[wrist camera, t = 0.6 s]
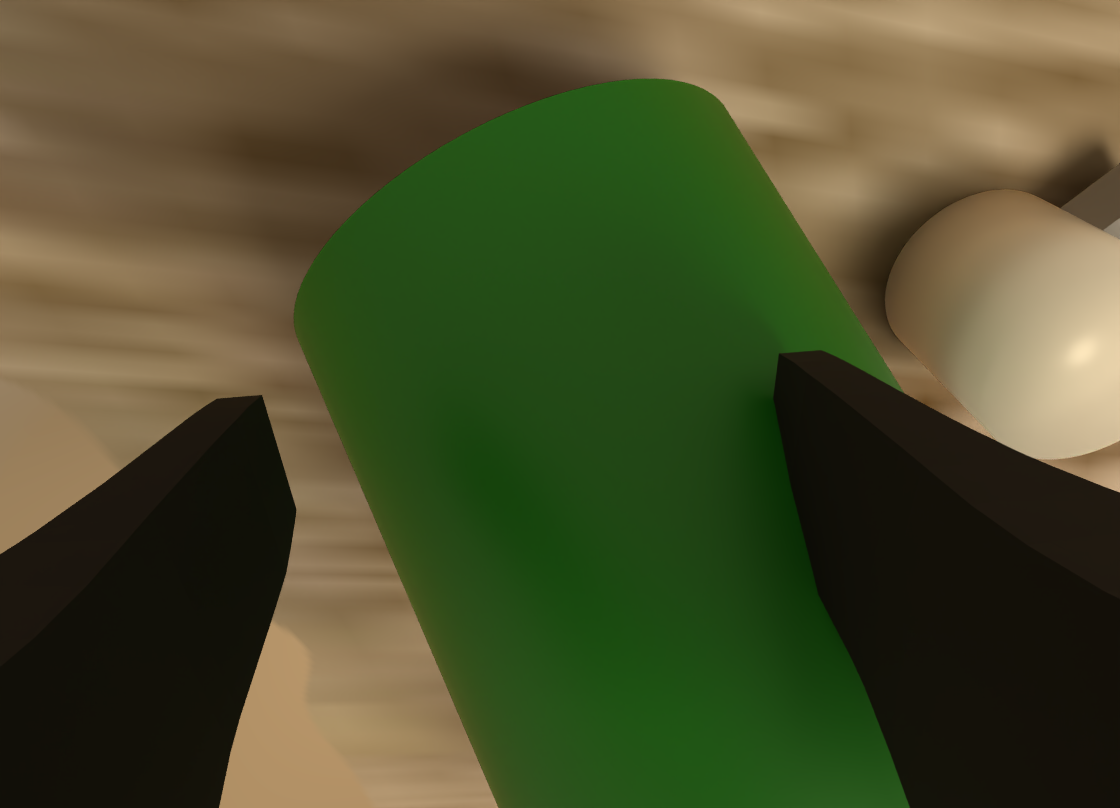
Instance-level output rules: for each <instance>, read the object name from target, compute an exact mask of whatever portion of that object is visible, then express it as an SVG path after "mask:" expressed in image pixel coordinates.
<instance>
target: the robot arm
mask: <svg viewBox="0 0 1120 808" xmlns="http://www.w3.org/2000/svg"><path fill="white" fill-rule="evenodd" d="M773 400H774V404H775V409H776V414H777V419H778V424H779V429H780V434H781V439H782V444H783V449H784V454H785V459H786V464H787V470H788V475H789V480H790V485H791V489H792V493H793V497H794V500H795V504H796V508H797V512H798V516H799V520H800V524H801V528H802V532H803V536H804V540H805V543H806V547H807V551H808V555H809V559H810V563H811V567H812V571H813V575H814V579H815V583H816V587H817V591H818V595H819V597H820V599H821V601H822V603H823V605H824V607H825V609H826V610H827V612H828V614H829V616H830V618H831V620H832V622H833V624H834V626H835V628H836V630H837V632H838V634H839V636H840V637H841V639H842V641H843V643H844V645H845V647H846V649H847V651H848V653H849V655H850V657H851V659H852V661H853V663H854V666H855V668H856V670H857V672H858V674H859V676H860V679H861V681H862V683H863V685H864V687H865V690H866V692H867V695H868V698H869V700H870V703H871V705H872V708H873V710H874V713H875V716H876V718H877V721H878V723H879V726H880V728H881V731H882V734H883V736H884V739H885V741H886V744H887V746H888V749H889V752H890V754H891V757H892V760H893V763H894V765H895V768H896V771H897V774H898V776H899V779H900V782H901V785H902V787H903V790H904V793H905V796H906V799H907V801H908V804H909V807H910V808H1120V493H1119V492H1117V491H1114V490H1111V489H1108V488H1106V487H1103V486H1101V485H1098V484H1096V483H1093V482H1091V481H1088V480H1086V479H1083V478H1081V477H1078V476H1076V475H1073V474H1070V473H1068V472H1065V471H1063V470H1060V469H1058V468H1055V467H1053V466H1050V465H1048V464H1046V463H1043V462H1041V461H1039V460H1036V459H1034V458H1032V457H1030V456H1027V455H1025V454H1023V453H1021V452H1018V451H1016V450H1014V449H1012V448H1010V447H1008V446H1006V445H1004V444H1002V443H1000V442H997V441H995V440H993V439H991V438H989V437H987V436H985V435H983V434H981V433H979V432H977V431H974V430H972V429H970V428H969V427H967V426H965V425H963V424H961V423H959V422H957V421H955V420H953V419H951V418H949V417H947V416H945V415H943V414H941V413H940V412H938V411H936V410H934V409H932V408H930V407H928V406H926V405H925V404H923V403H921V402H919V401H917V400H915V399H914V398H912V397H910V396H908V395H906V394H904V393H903V392H901V391H899V390H897V389H895V388H894V387H892V386H890V385H888V384H886V383H885V382H883V381H881V380H879V379H877V378H876V377H874V376H872V375H870V374H868V373H867V372H865V371H863V370H861V369H859V368H857V367H856V366H854V365H852V364H850V363H848V362H846V361H844V360H842V359H840V358H838V357H836V356H834V355H832V354H830V353H827V352H825V351H822V350H815V351H803V352H790V353H779V356H778V364H777V372H776V380H775V388H774V396H773ZM295 517H296V507H295V503H294V500H293V497H292V493H291V490H290V487H289V483H288V480H287V477H286V473H285V470H284V467H283V463H282V460H281V457H280V453H279V450H278V447H277V443H276V440H275V437H274V433H273V430H272V427H271V423H270V420H269V417H268V413H267V410H266V407H265V403H264V400H263V397H262V395H257V396H245V397H233V398H220V399H216V400H214V401H213V402H211V403H209V404H208V405H206V406H205V407H203V408H202V409H200V410H199V411H198V412H196V413H195V414H193V415H192V416H191V417H189V418H188V419H187V420H185V421H184V422H183V423H181V424H180V425H179V426H177V427H176V428H175V429H174V430H172V431H171V432H170V433H168V434H167V435H166V436H164V437H163V438H162V439H161V440H159V441H158V442H157V443H155V444H154V445H153V446H152V447H150V448H149V449H148V450H146V451H145V452H144V453H142V454H141V455H140V456H139V457H137V458H136V459H135V460H133V461H132V462H131V463H129V464H128V465H127V466H126V467H124V468H123V469H122V470H120V471H119V472H118V473H116V474H115V475H114V476H112V477H111V478H110V479H109V480H107V481H106V482H105V483H103V484H102V485H101V486H99V487H98V488H96V489H95V490H93V491H92V492H91V493H89V494H88V495H86V496H85V497H84V498H82V499H81V500H79V501H78V502H76V503H75V504H74V505H72V506H71V507H70V508H68V509H67V510H65V511H64V512H62V513H61V514H60V515H58V516H57V517H55V518H54V519H53V520H51V521H50V522H48V523H47V524H45V525H44V526H43V527H41V528H40V529H38V530H37V531H36V532H34V533H33V534H31V535H29V536H28V537H27V538H25V539H23V540H22V541H20V542H19V543H17V544H16V545H14V546H13V547H11V548H9V549H8V550H6V551H5V552H3V553H2V554H0V808H219V805H220V800H221V795H222V790H223V785H224V781H225V776H226V771H227V766H228V762H229V756H230V752H231V748H232V745H233V741H234V737H235V734H236V730H237V726H238V723H239V719H240V716H241V713H242V710H243V706H244V703H245V700H246V697H247V694H248V691H249V688H250V685H251V682H252V679H253V676H254V673H255V670H256V667H257V663H258V660H259V657H260V654H261V651H262V648H263V645H264V642H265V639H266V636H267V632H268V630H269V627H270V623H271V620H272V617H273V614H274V611H275V608H276V604H277V601H278V598H279V595H280V592H281V588H282V585H283V582H284V578H285V575H286V571H287V566H288V560H289V555H290V549H291V544H292V537H293V530H294V524H295Z"/></svg>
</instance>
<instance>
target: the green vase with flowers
mask: <svg viewBox="0 0 1120 808" xmlns="http://www.w3.org/2000/svg"><path fill="white" fill-rule="evenodd" d="M294 327H295V332H296V335H297V338H298V341H299V343H300V345H301V348H302V350H303V352H304V355H305V357H306V359H307V362H308V364H309V366H310V369H311V371H312V373H313V376H314V378H315V380H316V383H317V385H318V387H319V390H320V392H321V394H322V397H323V399H324V401H325V404H326V406H327V408H328V411H329V413H330V415H331V418H332V420H333V422H334V425H335V427H336V429H337V432H338V434H339V436H340V439H341V441H342V443H343V446H344V448H345V450H346V453H347V455H348V457H349V460H350V462H351V464H352V467H353V469H354V471H355V474H356V476H357V478H358V481H359V483H360V485H361V488H362V490H363V492H364V495H365V497H366V499H367V502H368V504H369V506H370V509H371V511H372V513H373V516H374V518H375V520H376V523H377V525H378V527H379V530H380V532H381V534H382V537H383V539H384V541H385V544H386V546H387V548H388V551H389V553H390V555H391V558H392V560H393V562H394V565H395V567H396V569H397V572H398V574H399V576H400V579H401V581H402V583H403V586H404V588H405V590H406V593H407V595H408V597H409V600H410V602H411V604H412V607H413V609H414V611H415V614H416V616H417V618H418V621H419V623H420V625H421V628H422V630H423V632H424V635H425V637H426V639H427V642H428V644H429V646H430V649H431V651H432V653H433V656H434V658H435V660H436V663H437V665H438V667H439V670H440V672H441V674H442V677H443V679H444V681H445V684H446V686H447V688H448V691H449V693H450V695H451V698H452V700H453V702H454V705H455V707H456V709H457V712H458V714H459V716H460V719H461V721H462V723H463V726H464V728H465V731H466V733H467V735H468V738H469V740H470V742H471V745H472V747H473V749H474V752H475V754H476V756H477V759H478V761H479V763H480V766H481V768H482V770H483V773H484V775H485V777H486V780H487V782H488V784H489V787H490V789H491V791H492V794H493V796H494V798H495V801H496V803H497V805H498V808H910V807H909V804H908V801H907V799H906V796H905V793H904V790H903V787H902V785H901V782H900V779H899V776H898V774H897V771H896V768H895V765H894V763H893V760H892V757H891V754H890V752H889V749H888V746H887V744H886V741H885V739H884V736H883V734H882V731H881V728H880V726H879V723H878V721H877V718H876V716H875V713H874V710H873V708H872V705H871V703H870V700H869V698H868V695H867V692H866V690H865V687H864V685H863V683H862V681H861V679H860V676H859V674H858V672H857V670H856V668H855V666H854V663H853V661H852V659H851V657H850V655H849V653H848V651H847V649H846V647H845V645H844V643H843V641H842V639H841V637H840V636H839V634H838V632H837V630H836V628H835V626H834V624H833V622H832V620H831V618H830V616H829V614H828V612H827V610H826V609H825V607H824V605H823V603H822V601H821V599H820V597H819V595H818V591H817V587H816V583H815V579H814V575H813V571H812V567H811V563H810V559H809V555H808V551H807V547H806V543H805V540H804V536H803V532H802V528H801V524H800V520H799V516H798V512H797V508H796V504H795V500H794V497H793V493H792V489H791V485H790V480H789V475H788V470H787V464H786V459H785V454H784V449H783V444H782V439H781V434H780V429H779V424H778V419H777V414H776V409H775V404H774V400H773V396H774V388H775V380H776V372H777V364H778V356H779V353H790V352H803V351H815V350H822V351H825V352H827V353H830V354H832V355H834V356H836V357H838V358H840V359H842V360H844V361H846V362H848V363H850V364H852V365H854V366H856V367H857V368H859V369H861V370H863V371H865V372H867V373H868V374H870V375H872V376H874V377H876V378H877V379H879V380H881V381H883V382H885V383H886V384H888V385H890V386H892V387H894V388H895V389H897V390H899V391H901V392H903V391H902V389H901V387H900V386H899V384H898V383H897V381H896V379H895V378H894V376H893V375H892V373H891V371H890V370H889V368H888V367H887V365H886V364H885V362H884V360H883V359H882V357H881V356H880V354H879V352H878V351H877V349H876V348H875V346H874V344H873V343H872V341H871V340H870V338H869V336H868V335H867V333H866V332H865V330H864V328H863V327H862V325H861V324H860V322H859V320H858V319H857V317H856V316H855V314H854V312H853V311H852V309H851V308H850V306H849V304H848V303H847V301H846V300H845V298H844V296H843V295H842V293H841V292H840V290H839V288H838V287H837V285H836V284H835V282H834V281H833V279H832V277H831V276H830V274H829V273H828V271H827V269H826V268H825V266H824V265H823V263H822V261H821V260H820V258H819V257H818V255H817V253H816V252H815V250H814V249H813V247H812V245H811V244H810V242H809V241H808V239H807V237H806V236H805V234H804V233H803V231H802V229H801V228H800V226H799V225H798V223H797V221H796V220H795V218H794V217H793V215H792V213H791V212H790V210H789V209H788V207H787V206H786V204H785V202H784V201H783V199H782V198H781V196H780V194H779V193H778V191H777V190H776V188H775V186H774V185H773V183H772V182H771V180H770V178H769V177H768V175H767V174H766V172H765V170H764V169H763V167H762V166H761V164H760V162H759V161H758V159H757V158H756V156H755V154H754V153H753V151H752V150H751V148H750V146H749V145H748V143H747V142H746V140H745V138H744V137H743V135H742V134H741V132H740V130H739V129H738V127H737V126H736V124H735V123H734V121H733V119H732V118H731V116H730V115H729V113H728V111H727V110H726V108H725V107H724V105H723V104H722V103H721V102H720V101H719V100H718V99H717V98H716V97H715V96H714V95H712V94H711V93H709V92H708V91H706V90H704V89H702V88H700V87H697V86H695V85H692V84H688V83H684V82H680V81H674V80H666V79H632V80H621V81H614V82H607V83H602V84H597V85H591V86H587V87H583V88H579V89H575V90H571V91H567V92H564V93H561V94H557V95H554V96H551V97H548V98H545V99H542V100H539V101H536V102H534V103H531V104H528V105H526V106H523V107H521V108H518V109H516V110H513V111H511V112H508V113H506V114H504V115H502V116H499V117H497V118H495V119H493V120H491V121H488V122H486V123H484V124H482V125H480V126H478V127H476V128H474V129H472V130H471V131H469V132H467V133H465V134H463V135H461V136H459V137H458V138H456V139H454V140H452V141H450V142H449V143H447V144H445V145H444V146H442V147H440V148H439V149H437V150H435V151H434V152H432V153H430V154H429V155H427V156H426V157H424V158H423V159H421V160H420V161H418V162H417V163H415V164H414V165H412V166H411V167H409V168H408V169H407V170H405V171H404V172H402V173H401V174H400V175H398V176H397V177H396V178H394V179H393V180H392V181H390V182H389V183H388V184H387V185H385V186H384V187H383V188H382V189H380V190H379V191H378V192H377V193H375V194H374V195H373V196H372V197H371V198H370V199H369V200H368V201H366V202H365V203H364V204H363V205H362V206H361V207H360V208H359V209H358V210H357V211H356V212H355V213H354V214H353V215H352V216H350V217H349V218H348V219H347V220H346V221H345V223H344V224H343V225H342V226H341V227H340V228H339V229H338V230H337V231H336V232H335V234H334V235H333V236H332V237H331V238H330V240H329V241H328V242H327V243H326V245H325V246H324V247H323V249H322V250H321V251H320V253H319V254H318V256H317V257H316V258H315V260H314V262H313V263H312V265H311V267H310V268H309V270H308V272H307V274H306V276H305V278H304V280H303V282H302V284H301V287H300V289H299V292H298V295H297V299H296V302H295V308H294ZM903 393H904V392H903Z"/></svg>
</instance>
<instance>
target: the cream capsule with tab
mask: <svg viewBox="0 0 1120 808" xmlns="http://www.w3.org/2000/svg"><path fill="white" fill-rule="evenodd" d="M885 310H886V315H887V319H888V322H889V325H890V327H891V329H892V331H893V332H894V334H895V335H896V337H897V338H898V339H899V340H900V341H901V342H902V343H903V344H904V345H905V346H906V347H907V348H908V349H909V350H910V351H911V352H912V353H913V354H914V355H915V356H916V357H917V358H918V359H919V361H920V362H921V363H922V364H923V365H924V366H925V367H926V368H927V369H928V370H929V371H930V372H931V373H932V374H933V375H934V376H935V377H936V378H937V379H938V380H939V381H940V382H941V383H942V384H943V385H944V386H945V387H946V388H947V389H948V391H949V392H950V393H951V394H952V395H953V396H954V397H955V398H956V399H957V400H958V401H959V402H960V403H961V404H962V405H963V406H964V407H965V408H966V409H967V410H968V411H969V412H970V413H971V414H972V415H973V416H974V417H975V418H976V419H977V421H978V422H979V423H980V424H981V425H982V426H983V427H984V428H985V429H986V430H987V431H988V432H989V433H990V434H991V435H992V436H993V437H994V438H995V439H996V440H997V441H998V442H1000V443H1002V444H1004V445H1006V446H1008V447H1010V448H1012V449H1014V450H1016V451H1018V452H1021V453H1023V454H1025V455H1027V456H1030V457H1032V458H1036V459H1062V458H1070V457H1075V456H1080V455H1084V454H1087V453H1090V452H1094V451H1097V450H1099V449H1102V448H1104V447H1107V446H1109V445H1111V444H1113V443H1116V442H1118V441H1120V163H1119V164H1118V165H1117V166H1115V167H1114V168H1113V169H1111V170H1110V171H1109V172H1107V173H1106V174H1105V175H1103V176H1102V177H1101V178H1100V179H1098V180H1097V181H1096V182H1094V183H1093V184H1092V185H1090V186H1089V187H1088V188H1086V189H1085V190H1084V191H1082V192H1081V193H1080V194H1078V195H1077V196H1076V197H1074V198H1073V199H1072V200H1070V201H1069V202H1068V203H1066V204H1065V205H1064V206H1062V207H1061V208H1058V207H1057V206H1055V205H1053V204H1051V203H1049V202H1047V201H1045V200H1043V199H1041V198H1039V197H1037V196H1035V195H1033V194H1030V193H1027V192H1023V191H1019V190H1009V189H1001V190H990V191H986V192H981V193H977V194H974V195H971V196H968V197H965V198H963V199H961V200H959V201H957V202H954V203H953V204H951V205H949V206H948V207H946V208H944V209H942V210H941V211H940V212H938V213H937V214H935V215H934V216H933V217H931V218H930V219H929V220H928V221H927V222H926V223H924V224H923V225H922V226H921V227H920V228H919V229H918V230H917V231H916V232H915V233H914V234H913V236H912V237H911V238H910V239H909V241H908V242H907V243H906V244H905V246H904V247H903V249H902V250H901V252H900V254H899V255H898V257H897V259H896V261H895V263H894V265H893V267H892V269H891V272H890V275H889V278H888V281H887V286H886V291H885Z"/></svg>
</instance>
